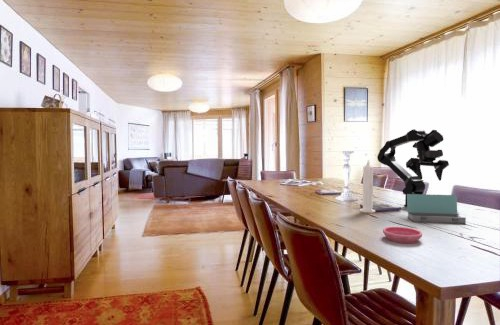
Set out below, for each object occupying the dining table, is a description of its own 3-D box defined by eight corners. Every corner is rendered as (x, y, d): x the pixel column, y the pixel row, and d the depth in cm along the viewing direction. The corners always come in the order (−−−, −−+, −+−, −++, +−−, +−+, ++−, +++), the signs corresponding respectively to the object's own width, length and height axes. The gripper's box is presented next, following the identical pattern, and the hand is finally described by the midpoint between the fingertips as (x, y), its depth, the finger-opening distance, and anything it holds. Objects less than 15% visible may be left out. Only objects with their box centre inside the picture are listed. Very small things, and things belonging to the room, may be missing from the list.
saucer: (389, 232, 124) (389, 224, 124) (425, 238, 117) (426, 229, 116) (377, 240, 115) (377, 231, 115) (417, 247, 107) (417, 237, 107)
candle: (376, 213, 158) (377, 160, 156) (360, 212, 159) (361, 160, 158) (373, 210, 165) (374, 159, 163) (358, 209, 166) (359, 159, 165)
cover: (407, 212, 148) (407, 212, 149) (457, 213, 145) (456, 213, 145) (407, 194, 149) (407, 194, 150) (456, 195, 146) (455, 195, 146)
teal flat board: (407, 217, 148) (407, 212, 148) (457, 219, 145) (457, 213, 145) (413, 222, 140) (413, 216, 140) (466, 224, 136) (466, 218, 136)
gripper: (413, 141, 159) (420, 170, 152) (451, 144, 160) (460, 173, 153) (402, 153, 169) (408, 181, 162) (438, 155, 170) (446, 183, 163)
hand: (430, 179), depth 159 cm, fingers open, 9 cm apart
